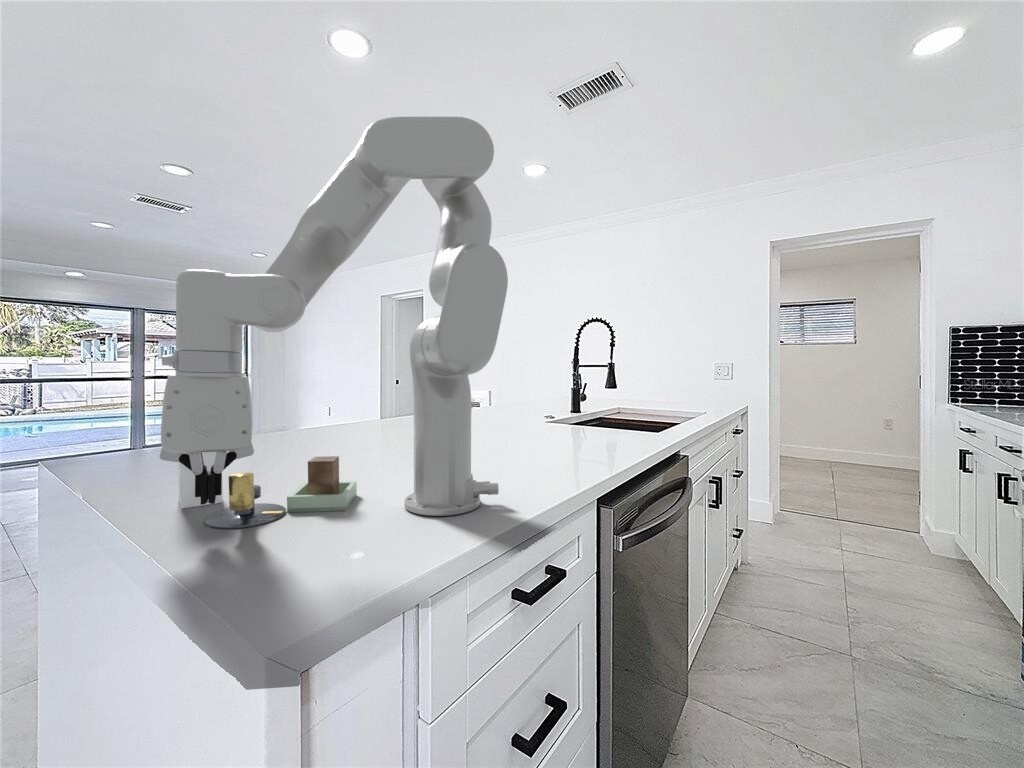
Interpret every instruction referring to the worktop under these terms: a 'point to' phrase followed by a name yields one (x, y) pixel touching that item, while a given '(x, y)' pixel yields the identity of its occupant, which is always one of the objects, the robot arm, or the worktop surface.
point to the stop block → (323, 475)
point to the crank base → (245, 516)
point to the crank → (242, 492)
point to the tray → (321, 499)
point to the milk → (188, 483)
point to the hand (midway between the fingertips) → (208, 501)
